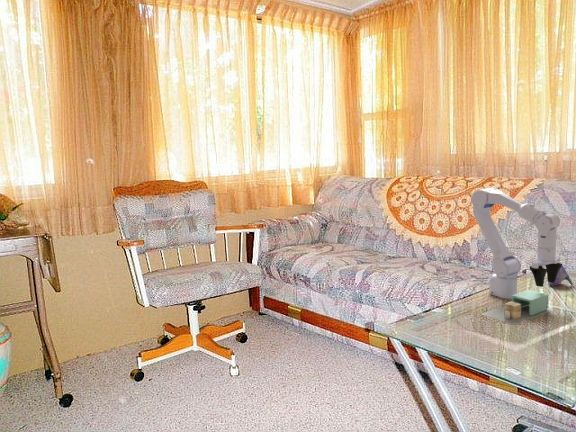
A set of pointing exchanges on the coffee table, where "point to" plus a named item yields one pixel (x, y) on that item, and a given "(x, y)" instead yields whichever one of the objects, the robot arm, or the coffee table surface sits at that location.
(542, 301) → the block
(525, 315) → the base
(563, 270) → the flower
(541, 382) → the coffee table surface
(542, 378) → the coffee table surface
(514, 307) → the brown block
